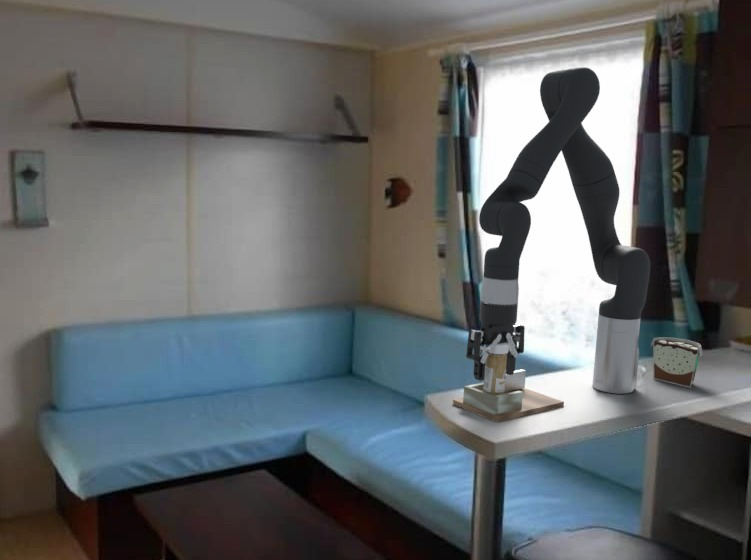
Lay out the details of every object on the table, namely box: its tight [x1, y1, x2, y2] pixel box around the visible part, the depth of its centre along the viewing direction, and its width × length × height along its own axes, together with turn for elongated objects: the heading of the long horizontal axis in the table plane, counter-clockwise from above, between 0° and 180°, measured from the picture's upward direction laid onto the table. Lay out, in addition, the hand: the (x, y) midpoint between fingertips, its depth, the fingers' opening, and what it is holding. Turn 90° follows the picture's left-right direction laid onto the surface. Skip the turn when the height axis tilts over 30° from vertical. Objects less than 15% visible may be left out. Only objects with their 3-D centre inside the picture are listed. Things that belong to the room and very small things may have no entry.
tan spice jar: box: [483, 342, 509, 396], centre depth 162 cm, size 5×5×13 cm
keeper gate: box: [504, 369, 527, 392], centre depth 173 cm, size 11×2×4 cm, turn 127°
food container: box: [650, 336, 703, 389], centre depth 191 cm, size 12×6×10 cm, turn 44°
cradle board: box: [452, 382, 565, 423], centre depth 167 cm, size 20×13×4 cm, turn 127°
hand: (494, 376), depth 162 cm, fingers open, 8 cm apart
